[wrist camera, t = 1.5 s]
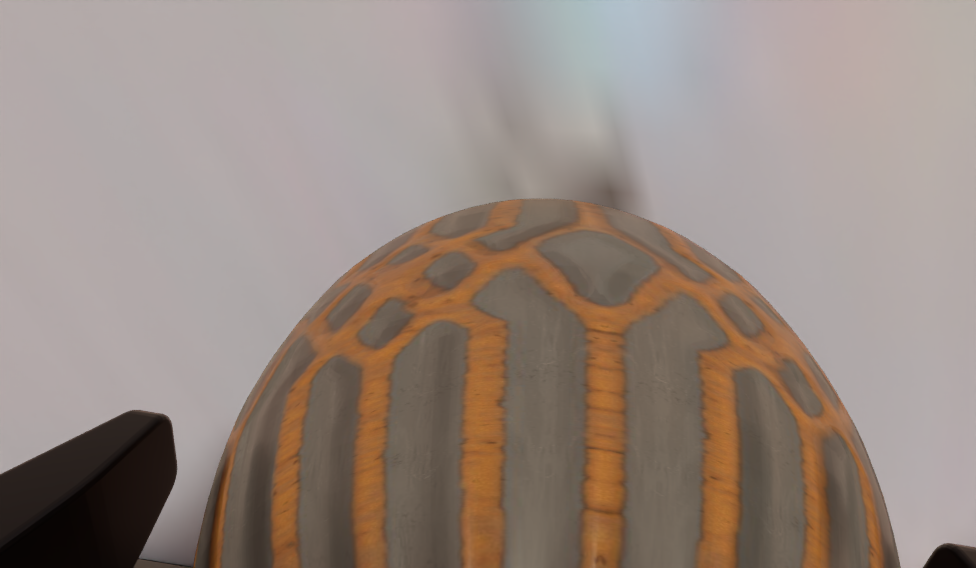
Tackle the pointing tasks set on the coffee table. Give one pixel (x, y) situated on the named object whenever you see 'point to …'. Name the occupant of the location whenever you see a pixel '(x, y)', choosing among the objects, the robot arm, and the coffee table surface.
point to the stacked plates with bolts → (154, 564)
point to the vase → (544, 413)
